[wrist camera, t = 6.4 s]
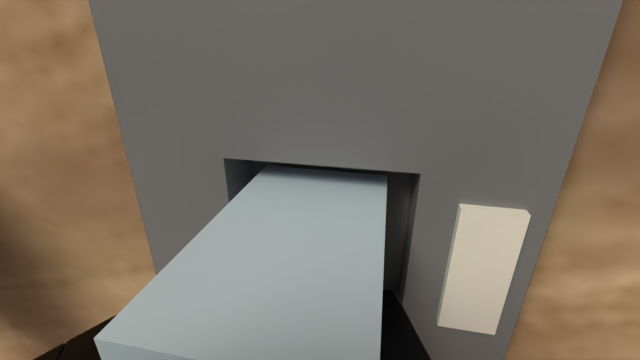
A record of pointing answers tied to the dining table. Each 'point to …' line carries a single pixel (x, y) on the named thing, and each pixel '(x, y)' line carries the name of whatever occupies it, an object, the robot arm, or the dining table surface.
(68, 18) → the dining table surface
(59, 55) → the dining table surface
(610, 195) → the dining table surface
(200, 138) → the panel
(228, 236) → the plug
